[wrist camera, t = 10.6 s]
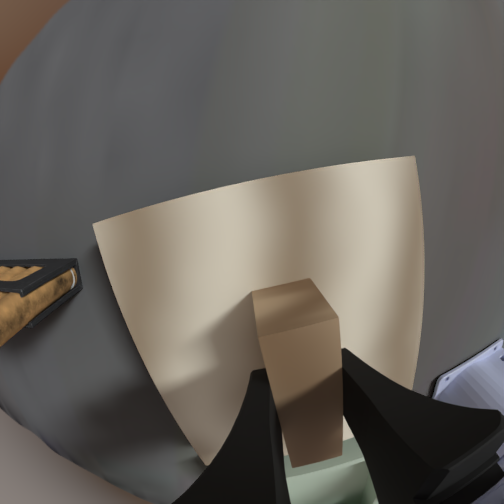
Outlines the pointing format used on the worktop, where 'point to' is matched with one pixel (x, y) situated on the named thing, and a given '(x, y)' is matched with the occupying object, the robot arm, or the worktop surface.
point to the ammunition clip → (34, 291)
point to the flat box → (332, 479)
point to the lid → (274, 295)
